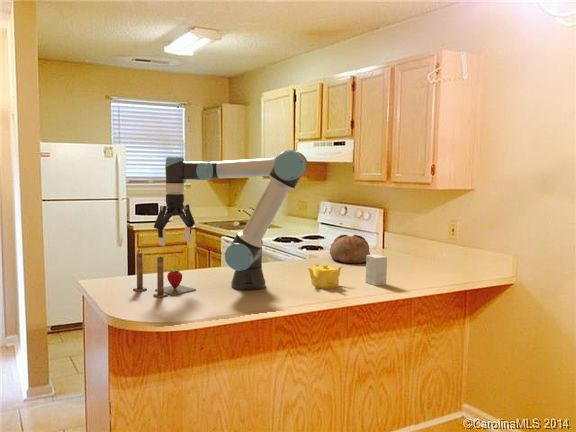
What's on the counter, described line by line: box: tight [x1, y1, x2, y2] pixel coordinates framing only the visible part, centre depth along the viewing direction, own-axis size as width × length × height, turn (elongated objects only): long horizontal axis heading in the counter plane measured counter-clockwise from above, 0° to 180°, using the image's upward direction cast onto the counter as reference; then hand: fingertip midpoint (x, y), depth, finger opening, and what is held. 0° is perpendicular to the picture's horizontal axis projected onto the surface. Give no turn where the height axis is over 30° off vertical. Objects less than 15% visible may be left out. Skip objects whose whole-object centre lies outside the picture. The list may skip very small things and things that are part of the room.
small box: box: [365, 254, 388, 287], centre depth 233 cm, size 8×6×13 cm
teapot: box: [306, 262, 344, 290], centre depth 227 cm, size 15×14×10 cm
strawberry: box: [166, 267, 183, 289], centre depth 212 cm, size 6×8×10 cm
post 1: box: [132, 252, 148, 293], centre depth 210 cm, size 4×4×16 cm
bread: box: [329, 234, 371, 265], centre depth 291 cm, size 26×23×15 cm
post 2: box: [152, 256, 169, 299], centre depth 202 cm, size 4×4×16 cm
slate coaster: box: [154, 284, 197, 296], centre depth 212 cm, size 12×12×1 cm
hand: (175, 243), depth 212 cm, fingers open, 13 cm apart
